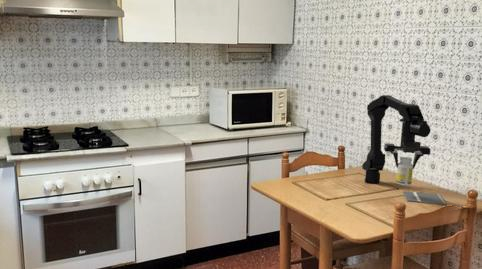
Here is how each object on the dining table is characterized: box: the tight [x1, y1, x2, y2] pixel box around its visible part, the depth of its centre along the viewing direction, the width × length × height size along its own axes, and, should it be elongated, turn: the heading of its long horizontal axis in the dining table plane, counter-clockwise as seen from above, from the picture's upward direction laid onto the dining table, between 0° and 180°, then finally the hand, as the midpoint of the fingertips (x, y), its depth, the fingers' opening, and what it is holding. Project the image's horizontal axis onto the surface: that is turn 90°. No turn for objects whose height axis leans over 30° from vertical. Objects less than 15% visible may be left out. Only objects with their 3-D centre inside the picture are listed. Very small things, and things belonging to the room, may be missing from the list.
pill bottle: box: [395, 156, 414, 186], centre depth 207 cm, size 6×6×12 cm
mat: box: [402, 190, 447, 206], centre depth 207 cm, size 16×14×1 cm
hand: (405, 168), depth 207 cm, fingers closed on pill bottle, 6 cm apart
